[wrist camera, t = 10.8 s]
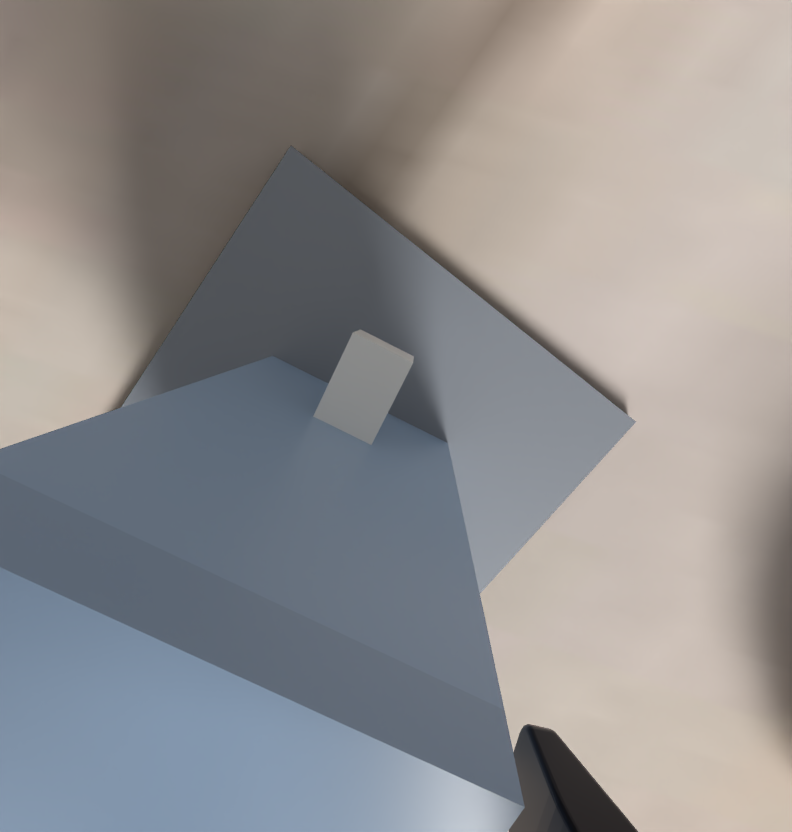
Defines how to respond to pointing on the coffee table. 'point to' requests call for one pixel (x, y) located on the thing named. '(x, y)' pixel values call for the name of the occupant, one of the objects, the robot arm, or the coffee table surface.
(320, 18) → the coffee table surface
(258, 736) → the tall blue rectangular block
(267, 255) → the flat square base plate
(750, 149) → the coffee table surface
